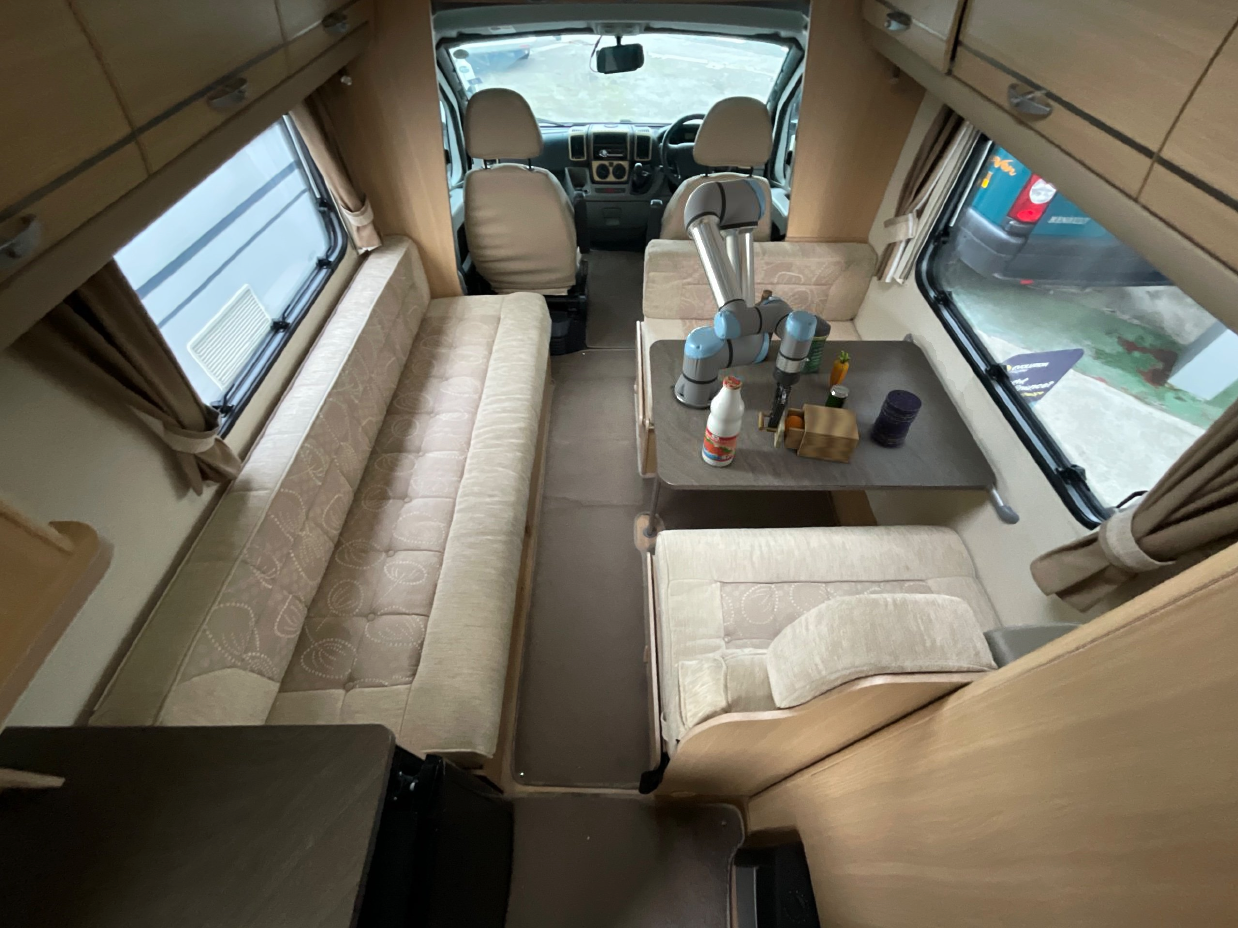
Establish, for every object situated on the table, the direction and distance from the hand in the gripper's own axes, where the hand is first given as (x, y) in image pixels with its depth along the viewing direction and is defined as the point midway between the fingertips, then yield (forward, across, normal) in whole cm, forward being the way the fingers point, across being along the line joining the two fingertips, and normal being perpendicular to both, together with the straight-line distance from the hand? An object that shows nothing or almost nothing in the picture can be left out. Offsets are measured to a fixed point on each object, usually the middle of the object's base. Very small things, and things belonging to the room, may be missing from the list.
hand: (771, 430), depth 170 cm
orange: (-2, +1, -6) cm, 7 cm away
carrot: (+3, +30, -20) cm, 36 cm away
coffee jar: (+3, +42, -11) cm, 43 cm away
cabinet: (+3, +1, -16) cm, 16 cm away
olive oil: (+3, +44, +7) cm, 45 cm away
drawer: (+2, 0, -5) cm, 6 cm away
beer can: (+3, +14, -19) cm, 23 cm away
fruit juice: (+3, -12, +15) cm, 19 cm away
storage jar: (+3, +9, -36) cm, 37 cm away
